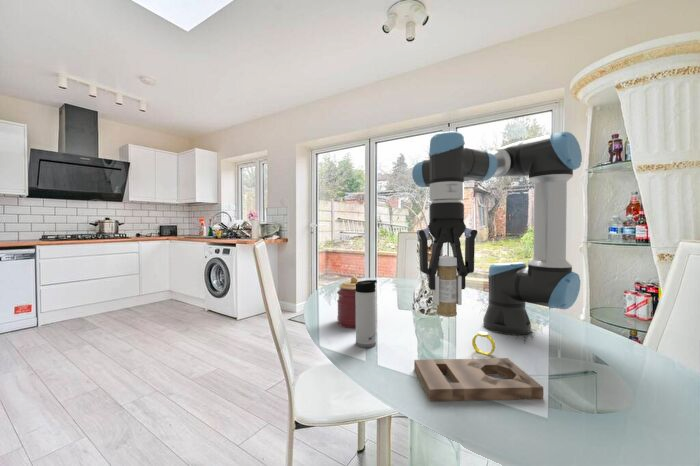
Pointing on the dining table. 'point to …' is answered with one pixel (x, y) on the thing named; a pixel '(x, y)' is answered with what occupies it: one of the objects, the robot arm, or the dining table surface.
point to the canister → (347, 303)
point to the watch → (485, 334)
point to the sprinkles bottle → (447, 286)
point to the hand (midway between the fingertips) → (446, 303)
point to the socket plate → (475, 380)
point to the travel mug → (365, 313)
